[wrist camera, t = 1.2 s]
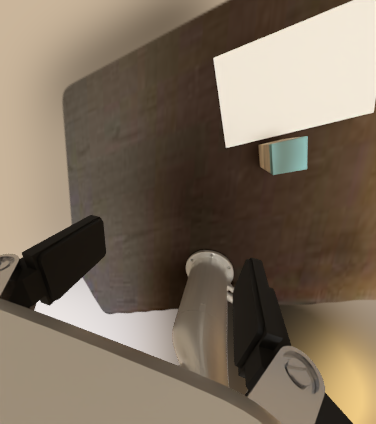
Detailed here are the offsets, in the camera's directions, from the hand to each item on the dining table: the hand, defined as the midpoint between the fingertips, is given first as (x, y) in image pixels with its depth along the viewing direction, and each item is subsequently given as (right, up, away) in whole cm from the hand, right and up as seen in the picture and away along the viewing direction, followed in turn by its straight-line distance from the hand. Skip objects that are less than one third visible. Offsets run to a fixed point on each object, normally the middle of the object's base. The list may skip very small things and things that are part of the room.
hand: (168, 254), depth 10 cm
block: (+17, +14, +20) cm, 29 cm away
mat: (+18, +23, +15) cm, 33 cm away
